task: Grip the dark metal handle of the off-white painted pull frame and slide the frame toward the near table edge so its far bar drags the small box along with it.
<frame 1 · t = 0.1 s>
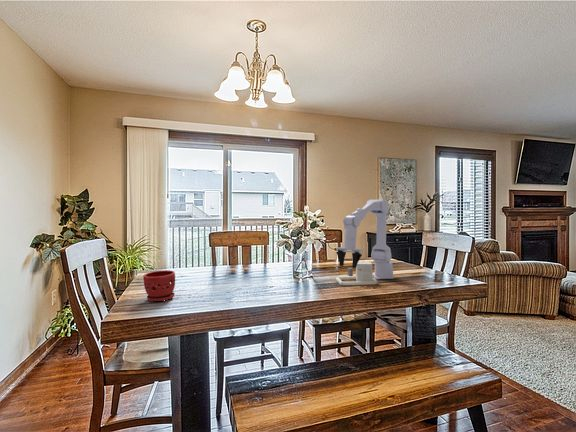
hand: (347, 266, 160), 11 cm above the table, tool pointing down, fingers open, 7 cm apart
plant pot: (160, 300, 145), on the table
pull frame: (354, 275, 176), point 3 cm above the table, slide at 0.0 cm
small box: (364, 283, 171), resting in pull frame
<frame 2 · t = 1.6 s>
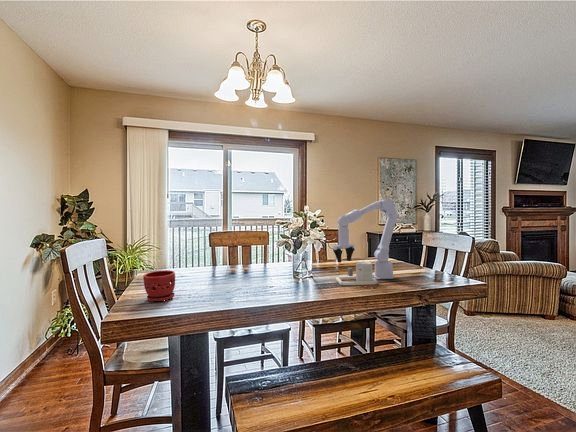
hand: (344, 261, 184), 9 cm above the table, tool pointing down, fingers open, 7 cm apart
nothing on the table moved.
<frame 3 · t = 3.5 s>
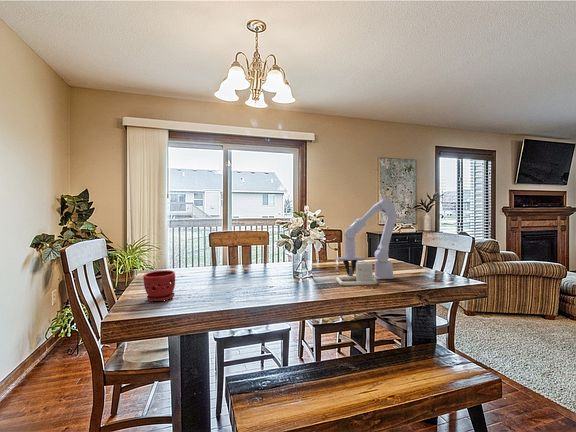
hand: (350, 273, 184), 2 cm above the table, tool pointing down, fingers closed on pull frame, 2 cm apart
pull frame: (354, 275, 176), point 3 cm above the table, slide at 0.0 cm, touching gripper
everything else where it was.
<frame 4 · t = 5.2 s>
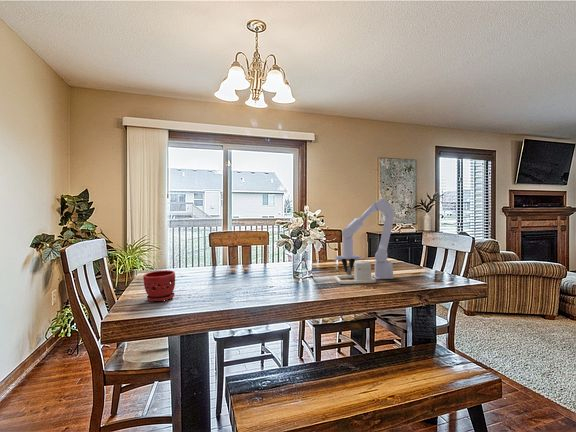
hand: (348, 271, 189), 2 cm above the table, tool pointing down, fingers closed on pull frame, 2 cm apart
pull frame: (352, 274, 179), point 3 cm above the table, slide at 3.3 cm, touching gripper, small box
small box: (362, 282, 173), resting in pull frame
everything else where it was.
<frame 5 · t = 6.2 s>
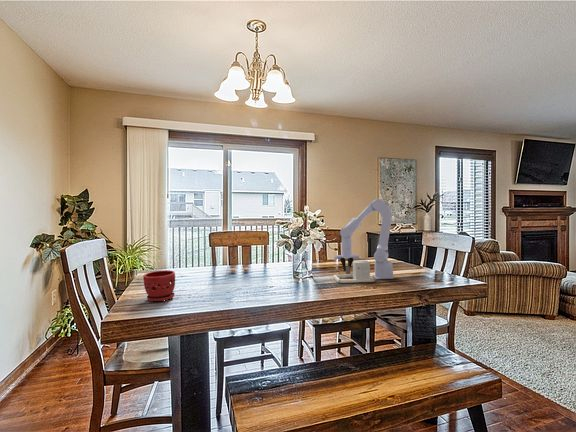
hand: (346, 270, 192), 2 cm above the table, tool pointing down, fingers closed on pull frame, 2 cm apart
pull frame: (351, 273, 181), point 3 cm above the table, slide at 5.5 cm, touching gripper, small box
small box: (361, 281, 175), resting in pull frame
everything else where it was.
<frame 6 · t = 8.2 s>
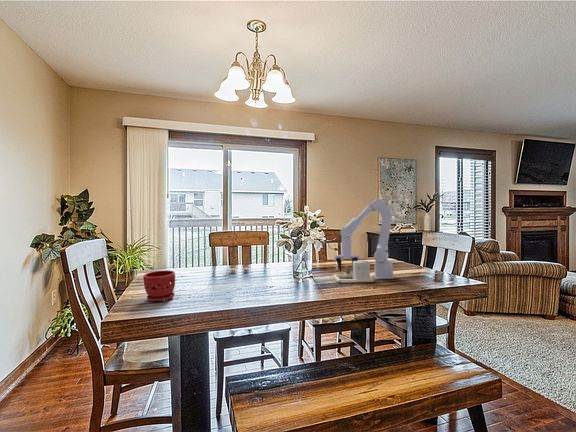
hand: (346, 270, 192), 2 cm above the table, tool pointing down, fingers open, 7 cm apart
pull frame: (351, 273, 181), point 3 cm above the table, slide at 5.6 cm
small box: (361, 281, 176), resting in pull frame
everything else where it was.
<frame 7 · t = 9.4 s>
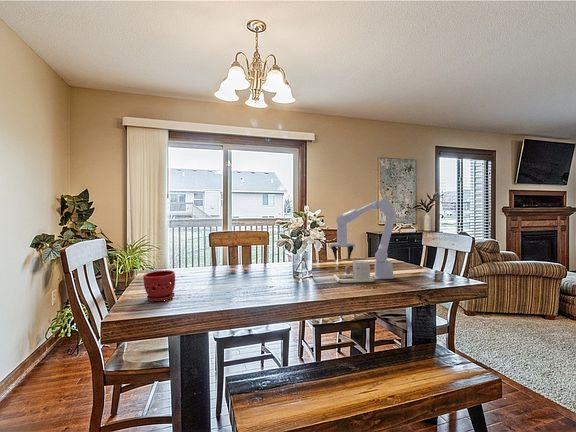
hand: (342, 259, 190), 9 cm above the table, tool pointing down, fingers open, 7 cm apart
nothing on the table moved.
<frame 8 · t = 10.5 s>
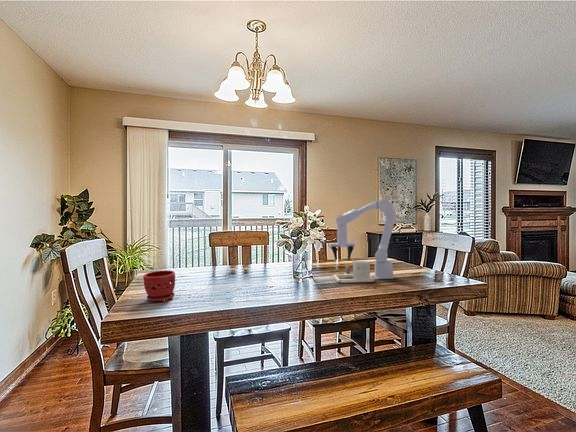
hand: (342, 259, 190), 9 cm above the table, tool pointing down, fingers open, 7 cm apart
nothing on the table moved.
at the end: pull frame slide at 5.6 cm; small box inside the target area (2.6 cm from its centre), resting in pull frame; small box tilted 0° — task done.
